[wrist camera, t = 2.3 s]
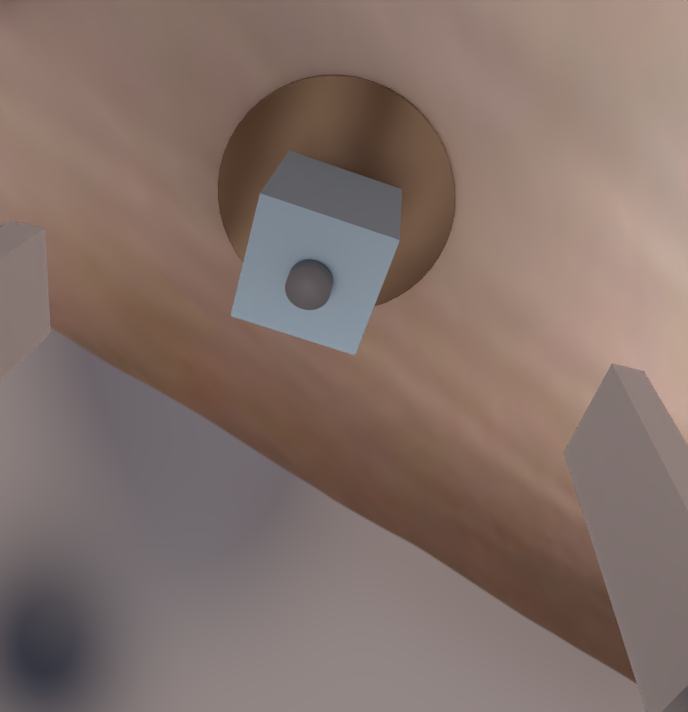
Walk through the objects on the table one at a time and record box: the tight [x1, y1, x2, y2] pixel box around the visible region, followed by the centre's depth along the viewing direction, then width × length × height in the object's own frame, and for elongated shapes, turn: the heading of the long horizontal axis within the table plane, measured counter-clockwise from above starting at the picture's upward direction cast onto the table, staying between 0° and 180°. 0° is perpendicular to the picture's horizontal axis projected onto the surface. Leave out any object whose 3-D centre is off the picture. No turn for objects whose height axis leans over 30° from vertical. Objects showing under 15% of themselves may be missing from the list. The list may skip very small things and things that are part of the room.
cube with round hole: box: [231, 151, 402, 355], centre depth 30 cm, size 6×6×8 cm
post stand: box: [218, 75, 455, 306], centre depth 32 cm, size 14×14×10 cm
